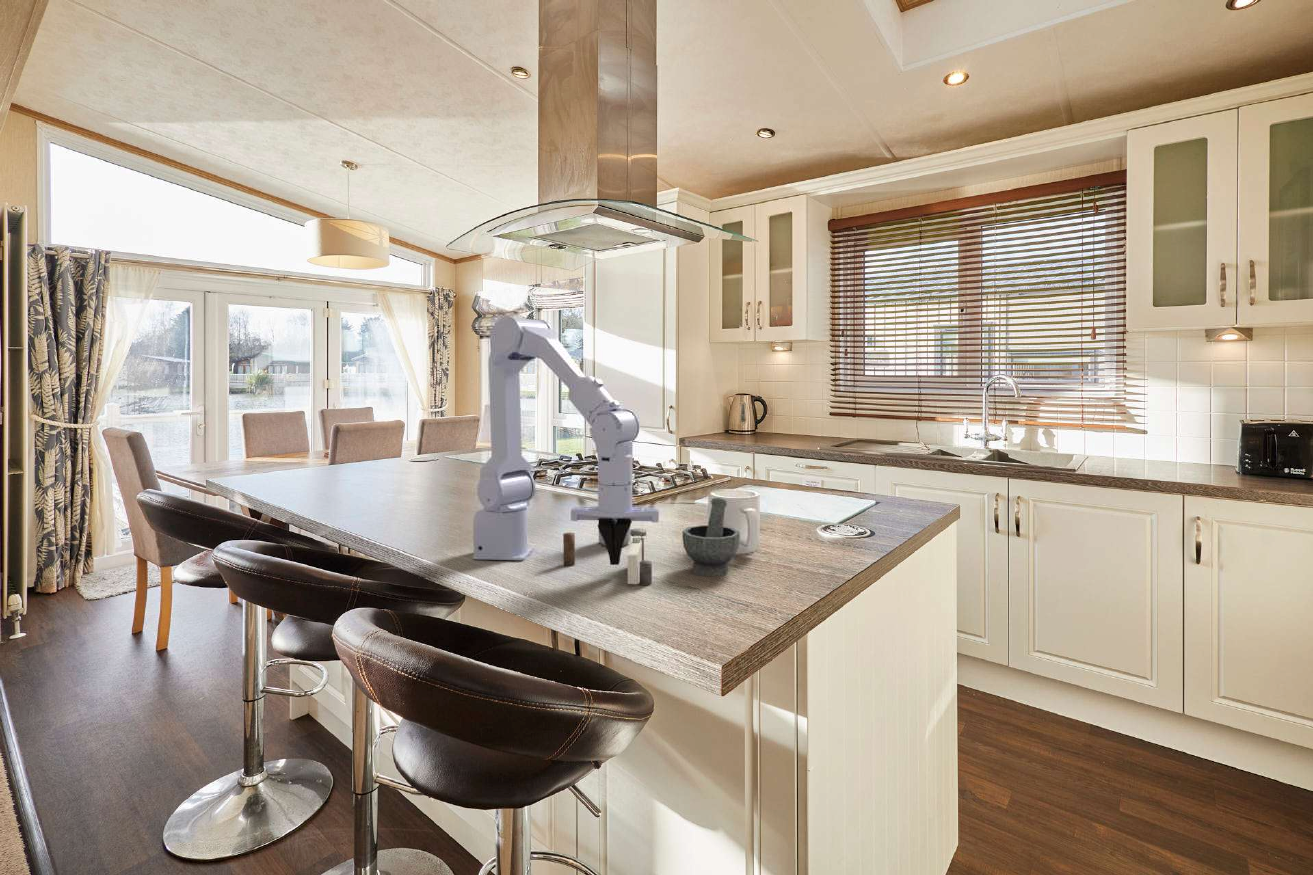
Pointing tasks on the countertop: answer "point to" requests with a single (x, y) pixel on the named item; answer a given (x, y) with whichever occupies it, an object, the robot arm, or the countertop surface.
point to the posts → (569, 558)
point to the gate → (635, 555)
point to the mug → (740, 515)
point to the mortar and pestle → (711, 542)
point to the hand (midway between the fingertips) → (615, 563)
